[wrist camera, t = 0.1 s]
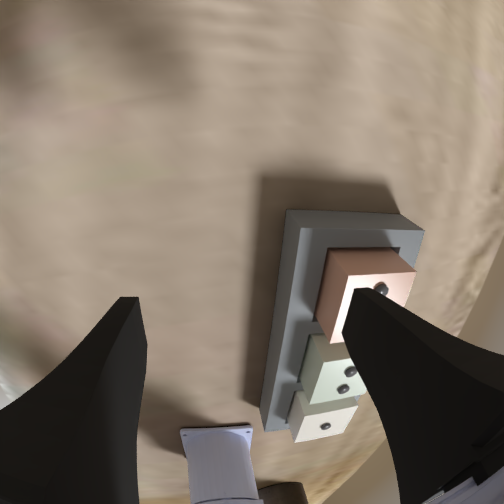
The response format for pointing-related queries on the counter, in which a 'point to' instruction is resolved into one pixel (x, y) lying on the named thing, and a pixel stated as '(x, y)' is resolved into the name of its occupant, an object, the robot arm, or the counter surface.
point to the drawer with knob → (318, 417)
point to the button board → (316, 289)
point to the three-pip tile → (358, 282)
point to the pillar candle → (283, 494)
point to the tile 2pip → (328, 371)
